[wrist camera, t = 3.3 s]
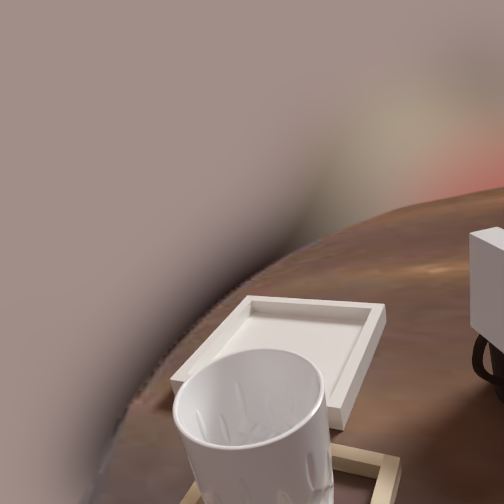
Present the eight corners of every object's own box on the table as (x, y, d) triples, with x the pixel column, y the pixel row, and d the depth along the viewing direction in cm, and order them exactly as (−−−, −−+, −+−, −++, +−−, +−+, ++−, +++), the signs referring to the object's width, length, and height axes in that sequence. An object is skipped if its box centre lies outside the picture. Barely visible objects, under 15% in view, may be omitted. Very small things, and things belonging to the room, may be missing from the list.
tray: (250, 311, 53) (247, 295, 53) (386, 321, 46) (384, 303, 46) (175, 398, 41) (169, 379, 40) (343, 430, 34) (340, 408, 33)
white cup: (197, 594, 25) (149, 450, 22) (228, 473, 32) (195, 351, 29) (348, 602, 24) (322, 447, 20) (345, 473, 31) (325, 342, 27)
